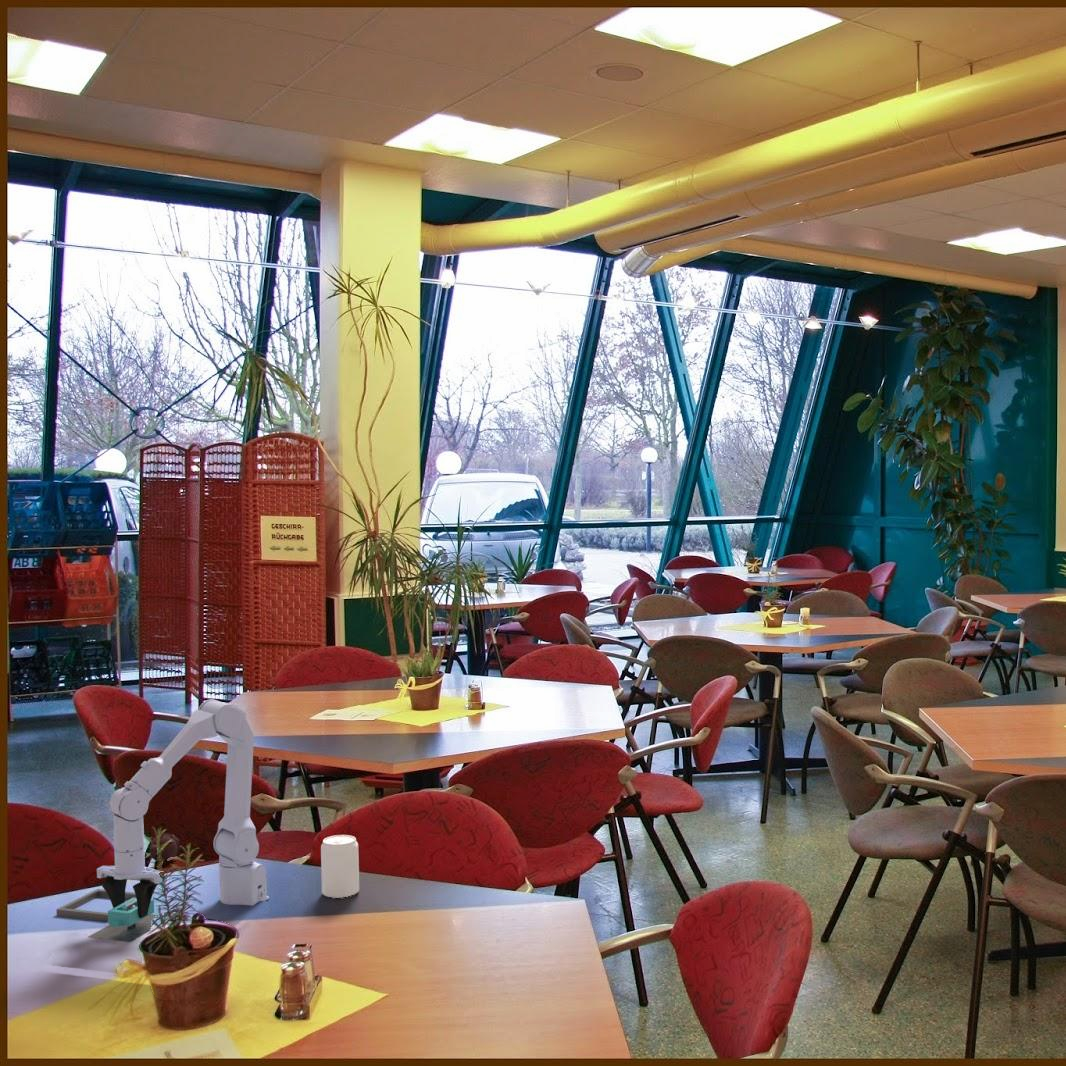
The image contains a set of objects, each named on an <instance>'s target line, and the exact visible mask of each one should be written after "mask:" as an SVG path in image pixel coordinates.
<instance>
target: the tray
mask: <svg viewBox="0 0 1066 1066" xmlns="http://www.w3.org/2000/svg"><path fill="white" fill-rule="evenodd" d="M98 897H99V898H109V896H108V894H107V892H106V891H105V889H104V888H103V889H102V888H97V889H95V890H93V891H91V892H89V893H86V894H85V895H83V896H81V897H78V898H76V899H75V900H72V901H70V902H69V903H67V904H65V905H63V906H60V907H59V908H57V909H56V911H55V912H56V916H58V917H68V918H78V919H86V920H94V921H96V920H97V921H105V922H108V912H102V911H94V910H92V911H91V910H83V909H78V908H79V907H81V906H83V905H85V904H87V903H89V902H91V901H92V900H95V899H97V898H98ZM131 898H136V895H135V892H134V891H133V892H131V891H125V900H126V901H128V900H130V899H131ZM109 899H110V898H109Z"/></svg>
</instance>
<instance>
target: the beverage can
mask: <svg viewBox="0 0 1066 1066" xmlns="http://www.w3.org/2000/svg"><path fill="white" fill-rule="evenodd" d="M359 855H360V854H359V843H358V841H357V838H356V837H355V836H353V835H349V834H336V835H331V836H327V837H325V838H324V839H322V844H321V845H320V860H321V861H320V863H321V864H320V868H321V869H320V870H321V871H320V872H321V873H320V874H321V894H322V895H323V896H325V897H328V898H329V897H333V898H332V899H335V898H341V899H343V898H342V897H347V898H349V897H348V896H350V897H352V896H351V895H353V896H354V895H356V894H357V893H358V892H359V891H360V865H359V864H360V862H359V861H360V860H359Z"/></svg>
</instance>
